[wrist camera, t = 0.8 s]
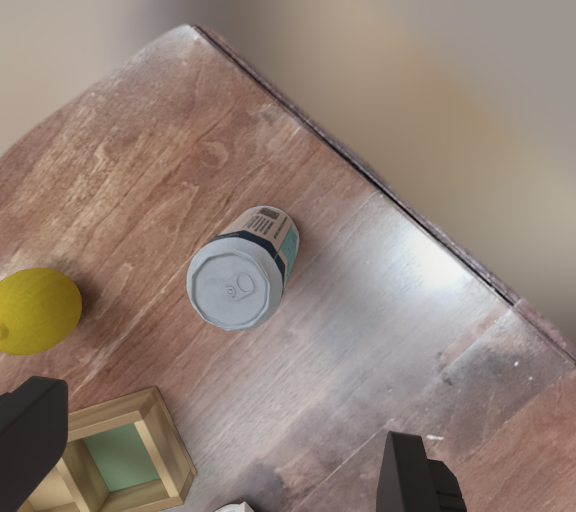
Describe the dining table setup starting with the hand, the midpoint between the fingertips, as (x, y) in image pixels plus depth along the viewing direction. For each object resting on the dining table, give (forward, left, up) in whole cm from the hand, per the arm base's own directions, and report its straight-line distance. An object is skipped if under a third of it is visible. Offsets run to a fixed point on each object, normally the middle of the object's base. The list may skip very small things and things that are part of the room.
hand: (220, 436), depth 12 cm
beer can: (-1, -2, -24) cm, 24 cm away
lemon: (-2, -18, -24) cm, 30 cm away
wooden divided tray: (+11, -22, -24) cm, 34 cm away
